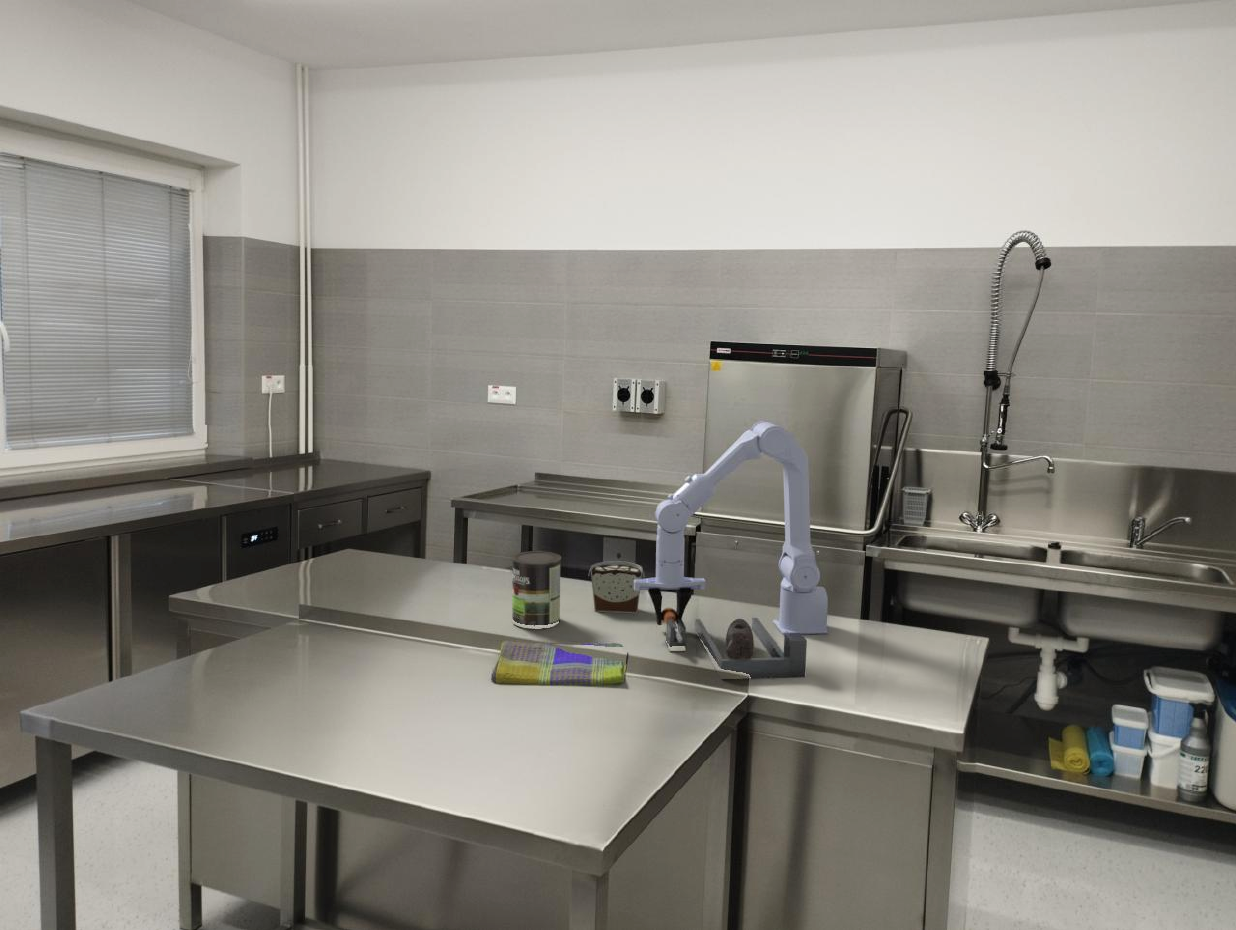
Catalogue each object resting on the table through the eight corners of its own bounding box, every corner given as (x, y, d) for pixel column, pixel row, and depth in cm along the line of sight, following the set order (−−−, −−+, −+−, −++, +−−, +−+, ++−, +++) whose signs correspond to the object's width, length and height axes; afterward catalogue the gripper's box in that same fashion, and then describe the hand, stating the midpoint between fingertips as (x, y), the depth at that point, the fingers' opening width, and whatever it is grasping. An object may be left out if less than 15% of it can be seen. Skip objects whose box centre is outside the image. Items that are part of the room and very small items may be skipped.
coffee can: (528, 633, 193) (528, 566, 191) (502, 619, 201) (502, 555, 199) (570, 623, 199) (570, 558, 197) (543, 610, 207) (543, 548, 205)
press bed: (768, 629, 197) (769, 596, 196) (805, 677, 172) (806, 640, 170) (660, 631, 195) (661, 598, 194) (682, 680, 169) (682, 643, 168)
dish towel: (623, 690, 166) (623, 676, 166) (485, 686, 168) (485, 671, 167) (628, 654, 183) (628, 641, 183) (503, 650, 185) (503, 636, 184)
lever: (675, 620, 197) (675, 605, 196) (689, 648, 181) (689, 631, 180) (659, 621, 196) (659, 605, 196) (671, 649, 180) (671, 632, 180)
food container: (646, 604, 212) (646, 561, 211) (644, 613, 206) (644, 569, 204) (591, 602, 213) (591, 559, 212) (588, 611, 207) (588, 567, 206)
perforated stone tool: (726, 641, 190) (727, 608, 189) (752, 643, 189) (754, 609, 188) (724, 669, 175) (725, 633, 174) (753, 671, 174) (754, 635, 173)
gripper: (701, 553, 197) (699, 616, 199) (632, 554, 196) (631, 617, 198) (708, 562, 190) (706, 627, 193) (636, 563, 189) (635, 629, 191)
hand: (668, 623), depth 195 cm, fingers closed on lever, 3 cm apart
